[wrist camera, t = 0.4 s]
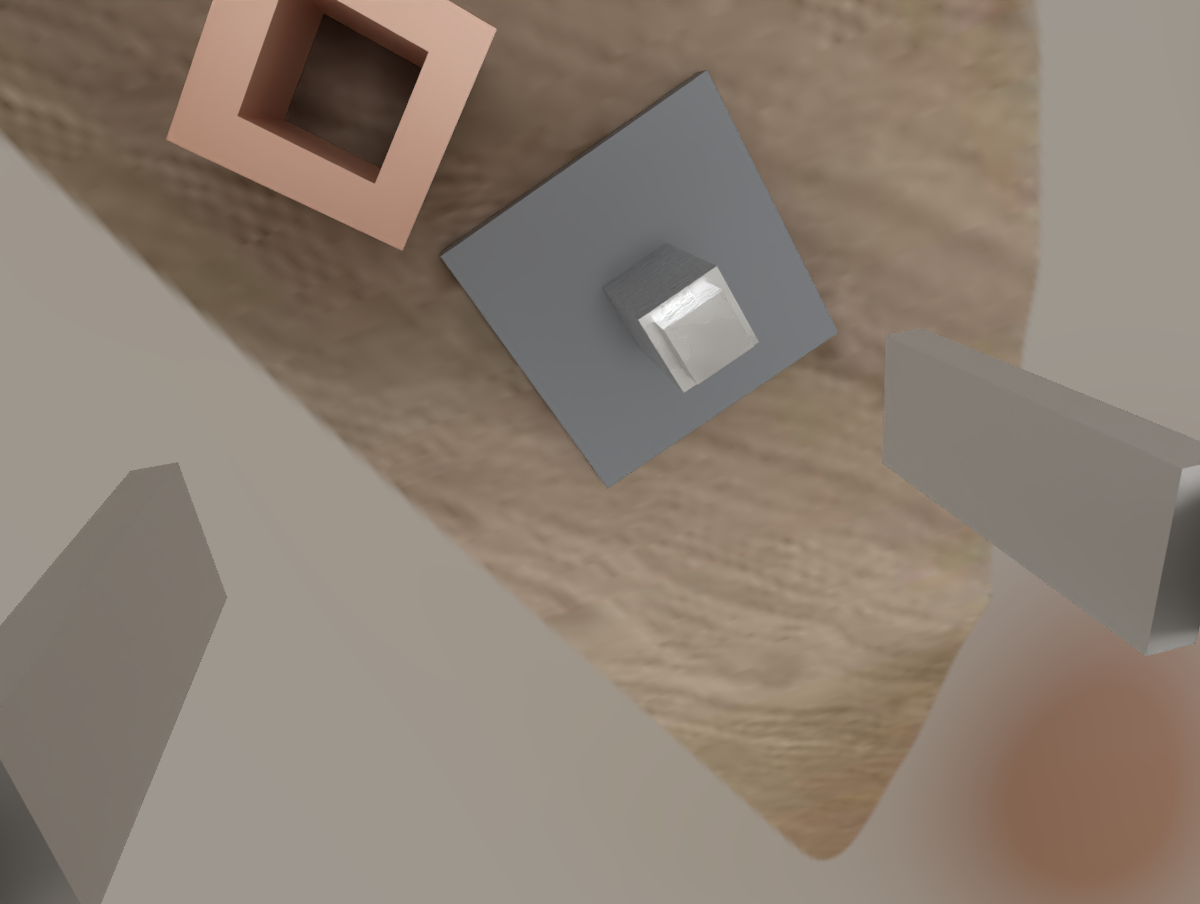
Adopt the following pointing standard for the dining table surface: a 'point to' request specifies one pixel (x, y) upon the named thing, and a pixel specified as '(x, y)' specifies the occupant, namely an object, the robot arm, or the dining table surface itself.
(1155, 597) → the robot arm
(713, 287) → the square shaft
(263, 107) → the square open box
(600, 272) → the shaft plate
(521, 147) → the dining table surface
